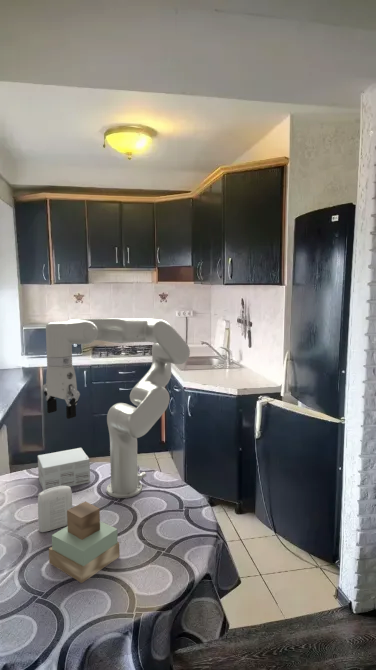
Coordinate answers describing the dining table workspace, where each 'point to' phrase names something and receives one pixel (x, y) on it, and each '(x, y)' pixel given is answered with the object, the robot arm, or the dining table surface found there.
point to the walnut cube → (83, 520)
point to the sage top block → (84, 544)
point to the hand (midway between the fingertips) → (61, 414)
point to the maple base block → (89, 569)
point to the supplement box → (63, 468)
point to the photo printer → (54, 507)
